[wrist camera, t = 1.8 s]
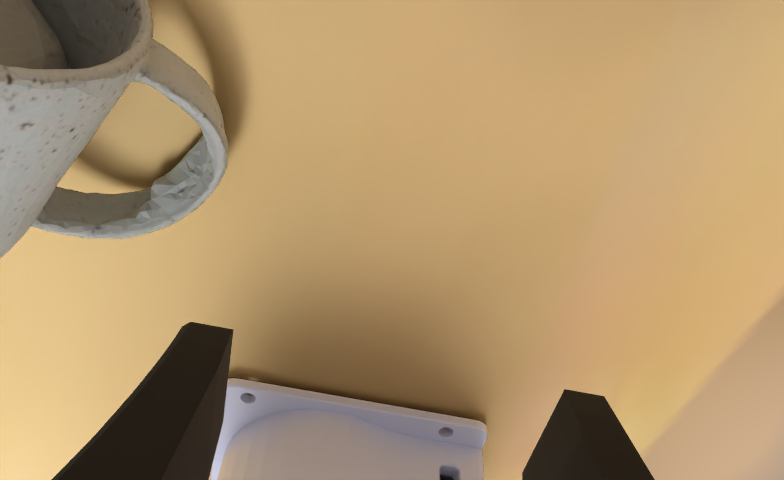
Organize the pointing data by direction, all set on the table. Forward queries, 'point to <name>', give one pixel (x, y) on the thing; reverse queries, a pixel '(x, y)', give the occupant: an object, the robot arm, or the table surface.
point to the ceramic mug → (91, 117)
